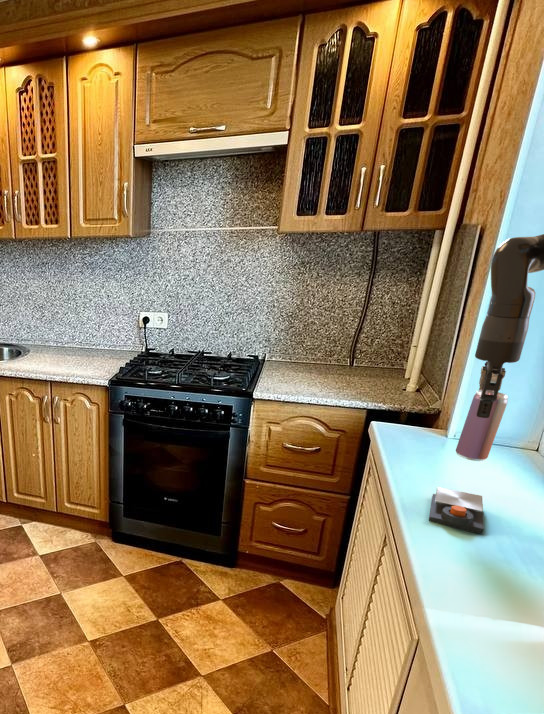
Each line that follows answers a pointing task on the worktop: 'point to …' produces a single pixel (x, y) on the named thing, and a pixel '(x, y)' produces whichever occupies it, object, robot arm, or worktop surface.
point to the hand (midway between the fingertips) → (482, 412)
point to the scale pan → (459, 499)
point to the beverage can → (480, 429)
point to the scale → (456, 518)
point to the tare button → (458, 511)
